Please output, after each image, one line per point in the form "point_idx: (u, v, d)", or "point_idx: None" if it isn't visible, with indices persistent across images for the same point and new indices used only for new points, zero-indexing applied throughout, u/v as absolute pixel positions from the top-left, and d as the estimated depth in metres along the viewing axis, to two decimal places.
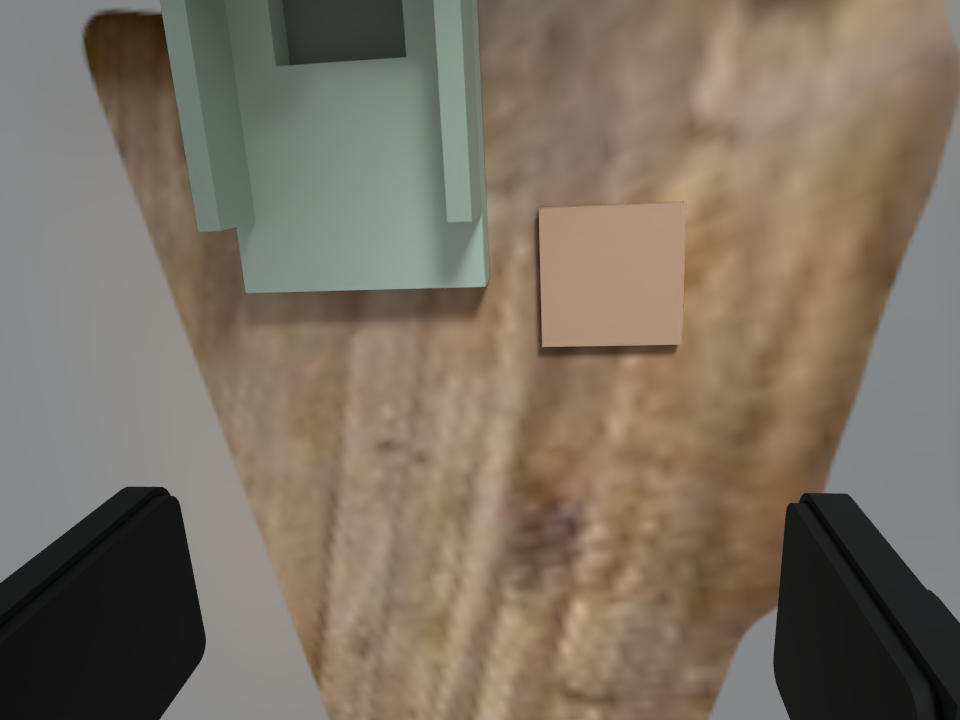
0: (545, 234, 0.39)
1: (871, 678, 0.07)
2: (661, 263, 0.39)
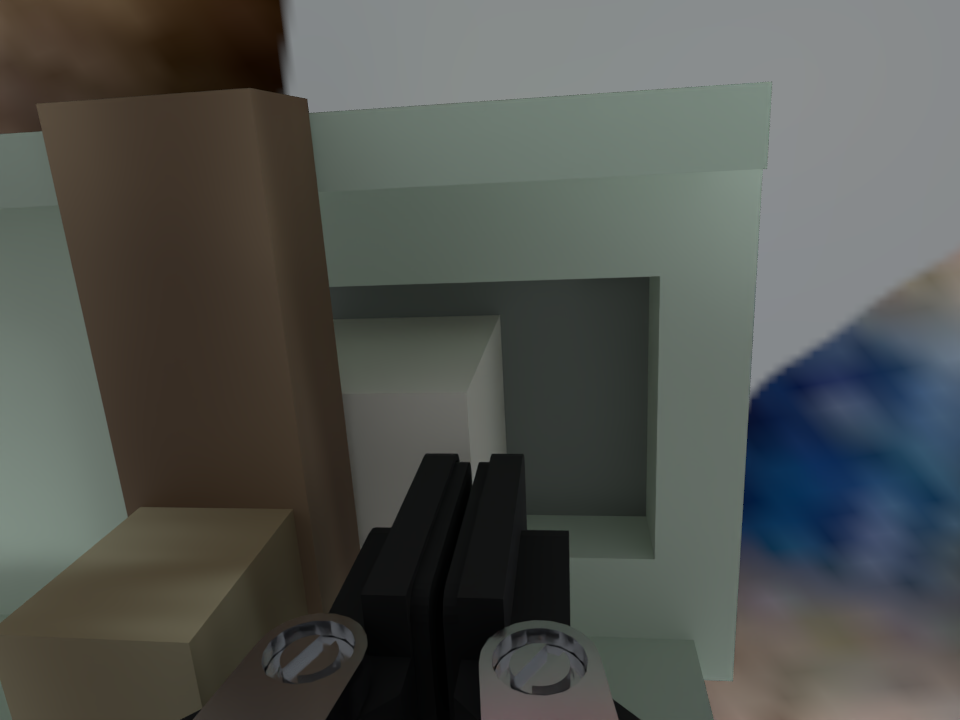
0: None
1: None
2: None
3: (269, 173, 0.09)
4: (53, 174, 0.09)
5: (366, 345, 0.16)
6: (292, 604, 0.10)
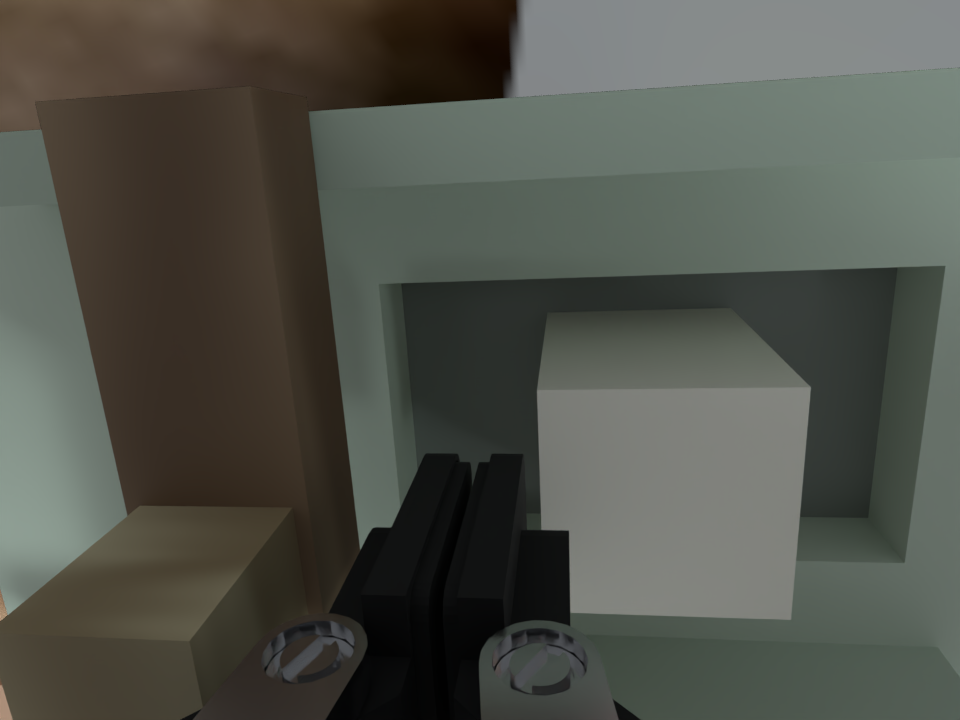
0: None
1: None
2: None
3: (269, 172, 0.09)
4: (52, 172, 0.09)
5: (625, 339, 0.15)
6: (292, 603, 0.10)
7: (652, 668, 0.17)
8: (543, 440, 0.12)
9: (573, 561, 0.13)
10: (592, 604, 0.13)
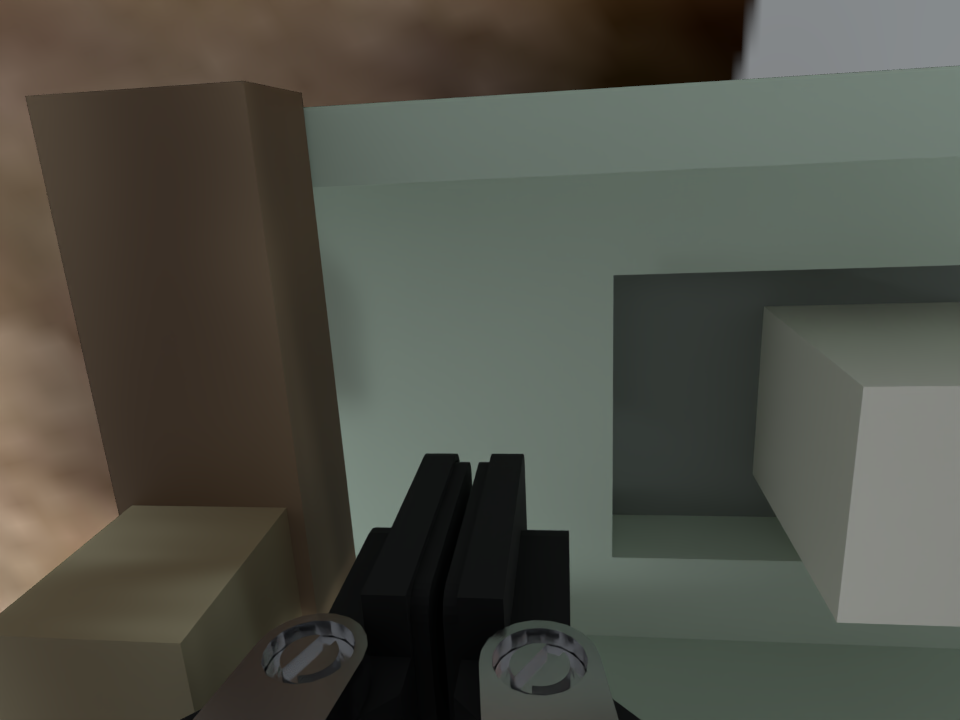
0: None
1: None
2: None
3: (263, 168, 0.09)
4: (43, 168, 0.09)
5: (890, 333, 0.14)
6: (286, 604, 0.10)
7: (887, 679, 0.16)
8: (861, 440, 0.12)
9: (877, 569, 0.12)
10: (892, 614, 0.12)
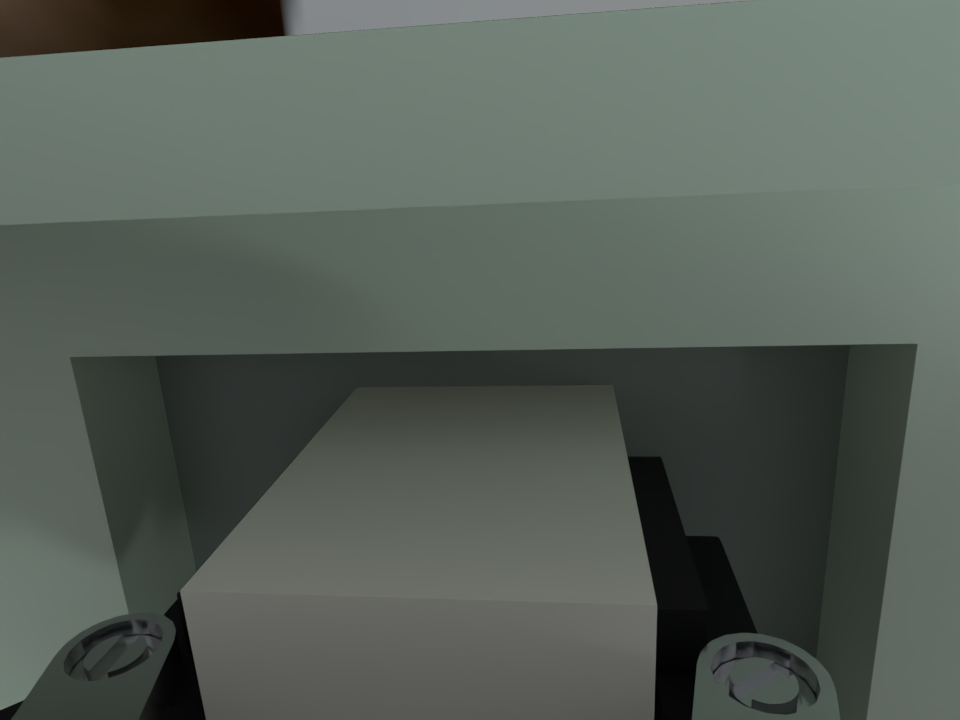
0: None
1: None
2: None
3: None
4: None
5: (423, 452, 0.10)
6: None
7: None
8: (206, 670, 0.07)
9: None
10: None
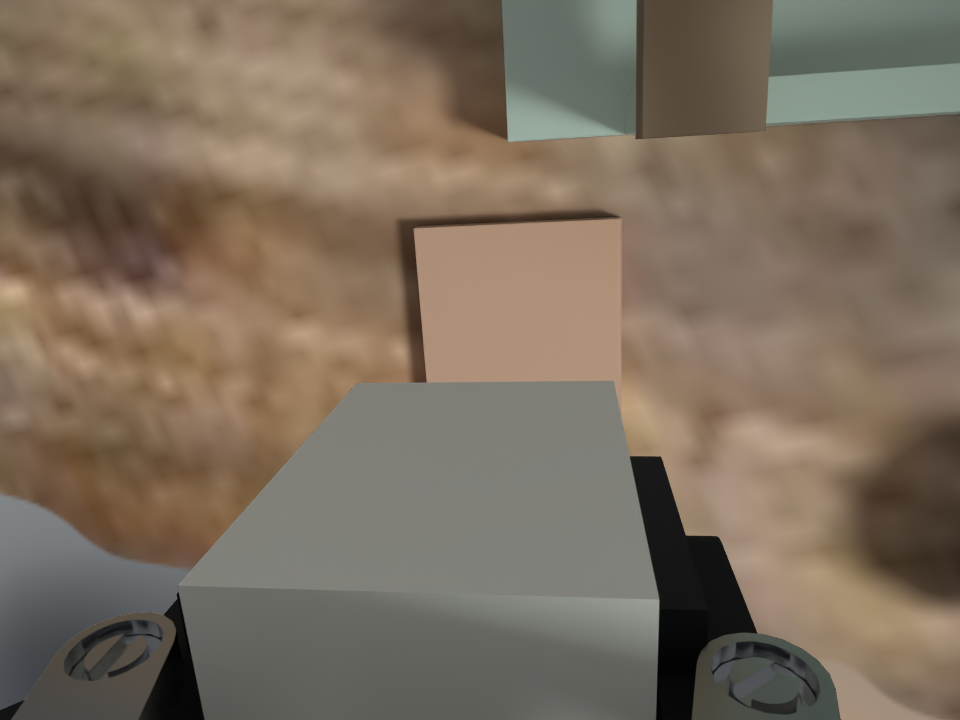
0: (582, 229, 0.26)
1: None
2: None
3: None
4: None
5: (422, 446, 0.09)
6: None
7: None
8: (204, 666, 0.07)
9: None
10: None
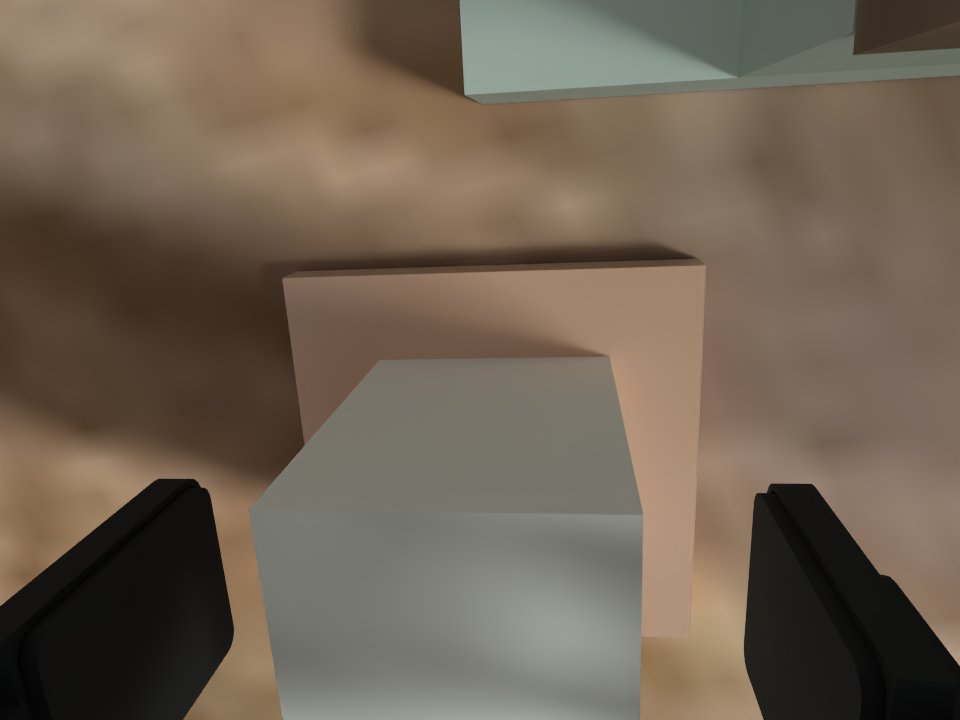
0: (624, 286, 0.13)
1: (824, 657, 0.07)
2: None
3: None
4: None
5: (443, 409, 0.11)
6: None
7: None
8: (268, 579, 0.08)
9: None
10: None
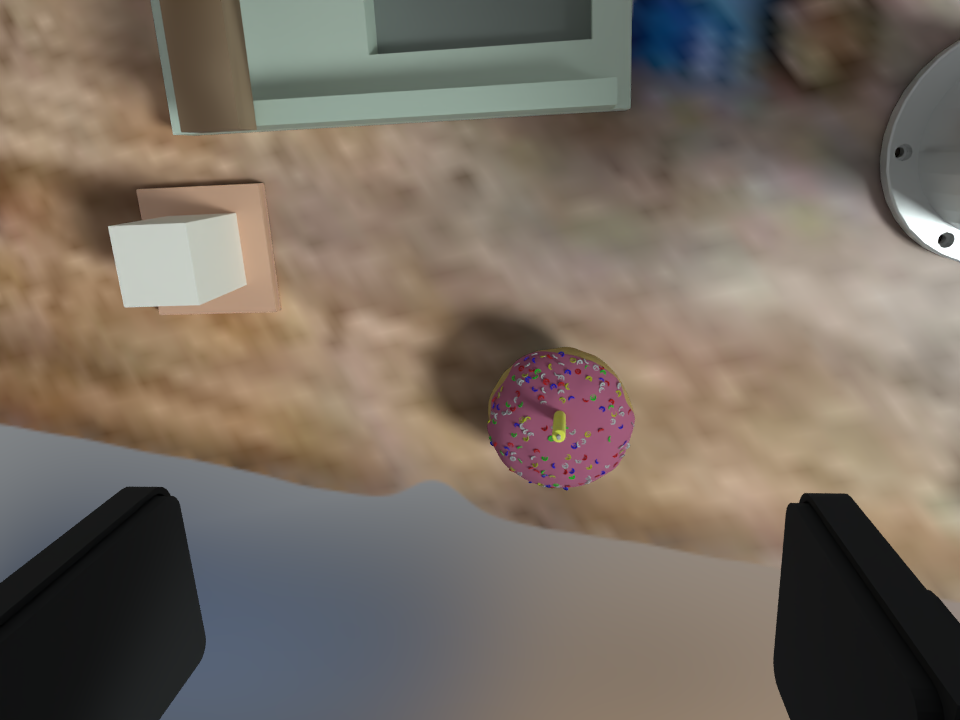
0: (236, 190, 0.42)
1: (871, 678, 0.07)
2: (224, 294, 0.44)
3: None
4: None
5: (170, 219, 0.41)
6: None
7: None
8: (113, 243, 0.38)
9: (130, 287, 0.39)
10: (138, 303, 0.39)
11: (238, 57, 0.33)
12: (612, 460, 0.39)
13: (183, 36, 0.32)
